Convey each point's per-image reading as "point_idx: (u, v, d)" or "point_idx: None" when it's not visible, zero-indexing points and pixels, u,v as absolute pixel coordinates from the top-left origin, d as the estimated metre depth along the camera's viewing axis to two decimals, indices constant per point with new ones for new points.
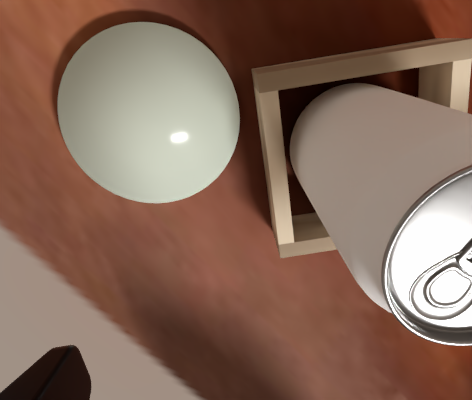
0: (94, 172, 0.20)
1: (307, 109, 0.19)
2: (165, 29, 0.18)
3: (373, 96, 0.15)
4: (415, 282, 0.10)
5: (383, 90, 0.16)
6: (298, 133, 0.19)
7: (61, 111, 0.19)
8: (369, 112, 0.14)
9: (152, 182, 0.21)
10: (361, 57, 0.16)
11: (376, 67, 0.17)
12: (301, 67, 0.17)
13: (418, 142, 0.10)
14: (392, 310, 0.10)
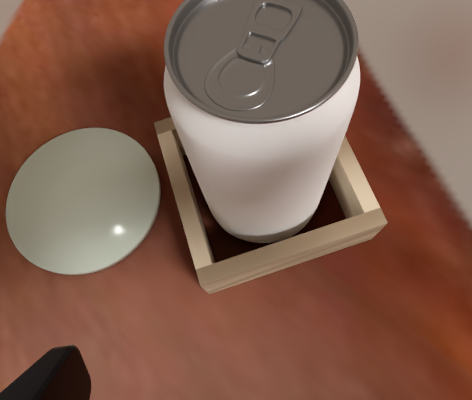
0: (27, 249, 0.22)
1: None
2: (97, 130, 0.24)
3: None
4: (206, 76, 0.11)
5: None
6: None
7: (9, 201, 0.23)
8: None
9: (80, 251, 0.21)
10: None
11: None
12: None
13: None
14: (184, 93, 0.11)
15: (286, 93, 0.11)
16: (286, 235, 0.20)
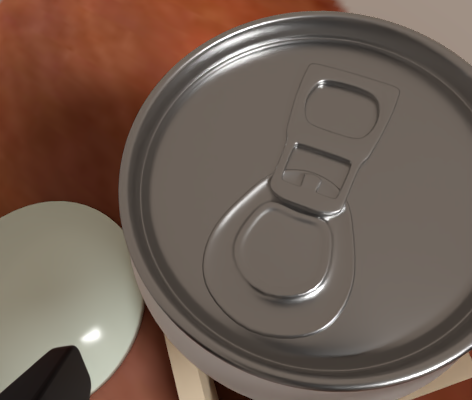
0: None
1: None
2: (62, 204, 0.18)
3: None
4: (206, 245, 0.05)
5: None
6: None
7: None
8: None
9: None
10: None
11: None
12: None
13: None
14: (158, 300, 0.05)
15: (385, 295, 0.05)
16: None
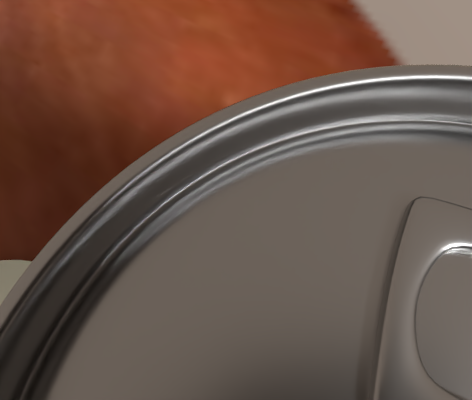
0: None
1: None
2: (19, 264, 0.14)
3: None
4: None
5: None
6: None
7: None
8: None
9: None
10: None
11: None
12: None
13: None
14: None
15: None
16: None
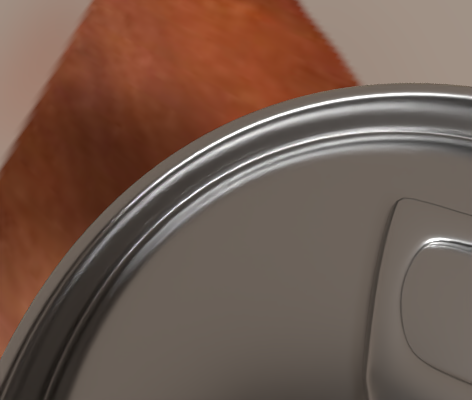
0: None
1: None
2: None
3: None
4: None
5: None
6: None
7: None
8: None
9: None
10: None
11: None
12: None
13: None
14: None
15: None
16: None
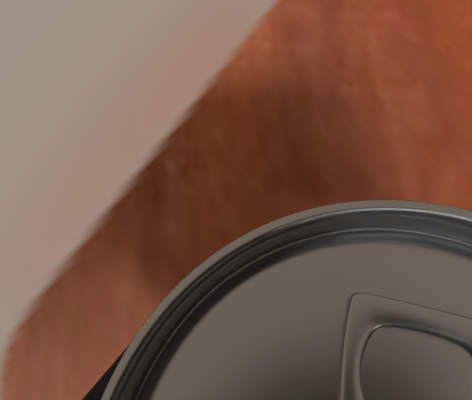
0: None
1: None
2: None
3: None
4: None
5: None
6: None
7: None
8: None
9: None
10: None
11: None
12: None
13: None
14: None
15: None
16: None
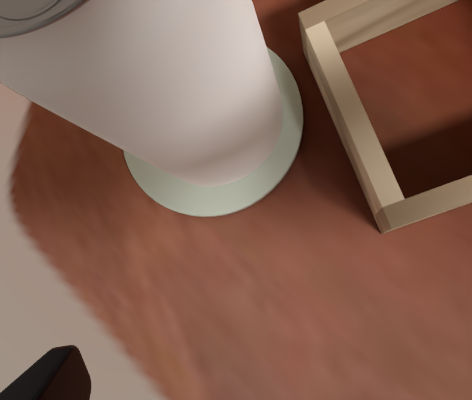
0: (154, 190, 0.19)
1: None
2: None
3: None
4: None
5: None
6: None
7: None
8: None
9: (215, 189, 0.18)
10: None
11: None
12: None
13: None
14: None
15: None
16: (264, 153, 0.16)
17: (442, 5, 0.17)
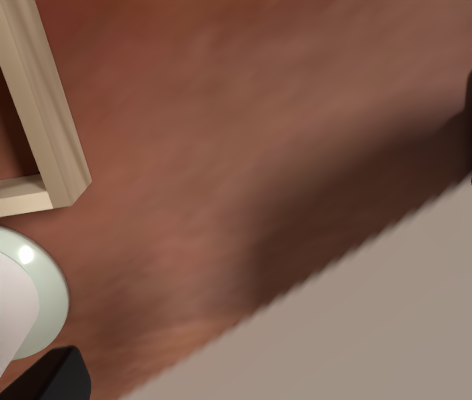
0: (42, 341, 0.22)
1: None
2: None
3: None
4: None
5: None
6: None
7: None
8: None
9: (43, 299, 0.21)
10: None
11: None
12: None
13: None
14: None
15: None
16: (8, 271, 0.19)
17: None
